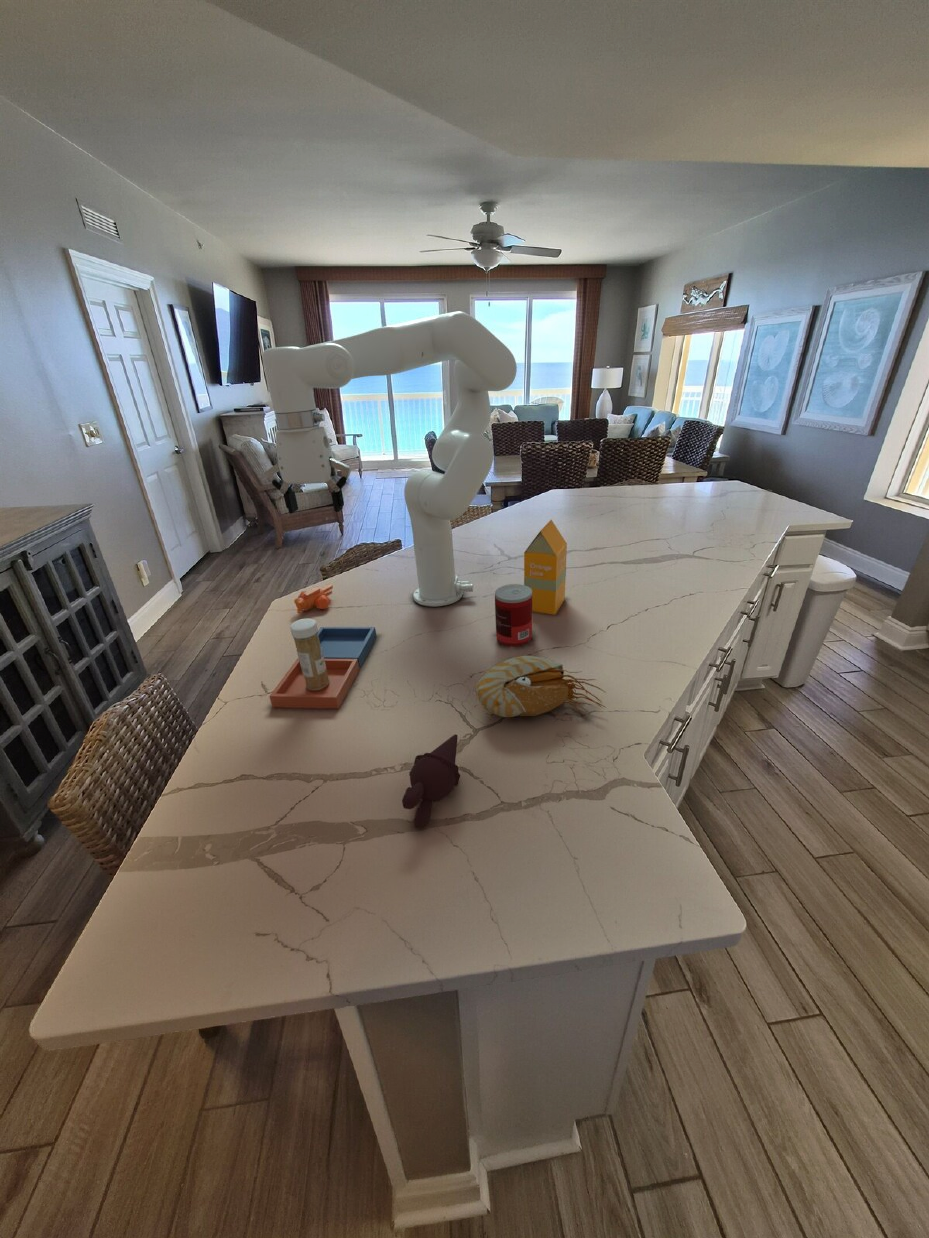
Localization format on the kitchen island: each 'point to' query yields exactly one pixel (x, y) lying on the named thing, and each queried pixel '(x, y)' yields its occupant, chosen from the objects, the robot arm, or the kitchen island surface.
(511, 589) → the canned food
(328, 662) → the terracotta tray
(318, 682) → the sprinkles bottle
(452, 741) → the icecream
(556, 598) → the orange juice
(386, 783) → the kitchen island surface
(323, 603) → the orange toy motorcycle
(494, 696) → the nautilus
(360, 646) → the slate tray
